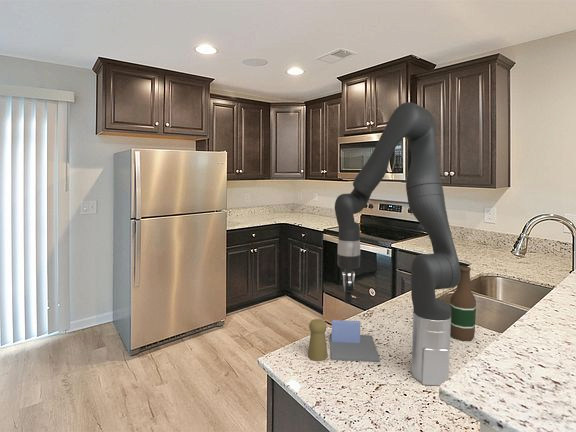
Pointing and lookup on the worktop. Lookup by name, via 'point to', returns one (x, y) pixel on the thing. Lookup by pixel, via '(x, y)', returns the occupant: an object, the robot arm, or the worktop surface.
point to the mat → (355, 350)
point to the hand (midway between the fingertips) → (348, 302)
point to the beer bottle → (463, 308)
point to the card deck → (345, 331)
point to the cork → (317, 341)
